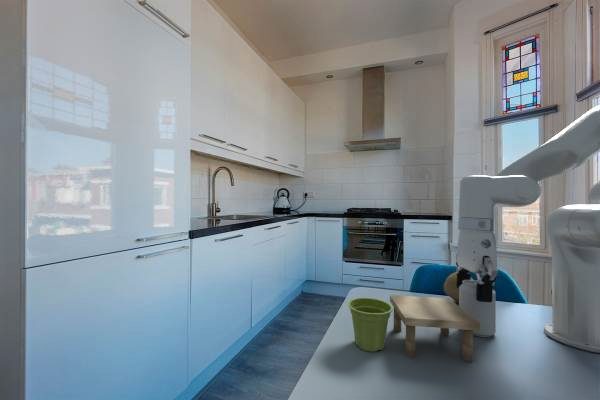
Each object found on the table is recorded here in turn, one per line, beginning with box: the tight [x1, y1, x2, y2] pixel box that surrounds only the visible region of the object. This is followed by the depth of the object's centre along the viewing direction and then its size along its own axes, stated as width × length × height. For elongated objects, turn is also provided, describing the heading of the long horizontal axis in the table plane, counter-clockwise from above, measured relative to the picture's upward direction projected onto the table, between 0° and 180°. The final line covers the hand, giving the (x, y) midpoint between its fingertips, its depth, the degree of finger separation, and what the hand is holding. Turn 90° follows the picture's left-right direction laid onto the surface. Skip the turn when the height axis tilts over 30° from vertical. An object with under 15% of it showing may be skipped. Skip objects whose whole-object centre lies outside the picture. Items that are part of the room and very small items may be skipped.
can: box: [458, 279, 497, 338], centre depth 66 cm, size 8×8×12 cm
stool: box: [389, 294, 480, 363], centre depth 59 cm, size 14×14×8 cm
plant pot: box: [347, 297, 394, 353], centre depth 58 cm, size 9×9×9 cm
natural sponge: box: [443, 271, 474, 304], centre depth 85 cm, size 9×9×10 cm
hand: (472, 294), depth 66 cm, fingers open, 9 cm apart
